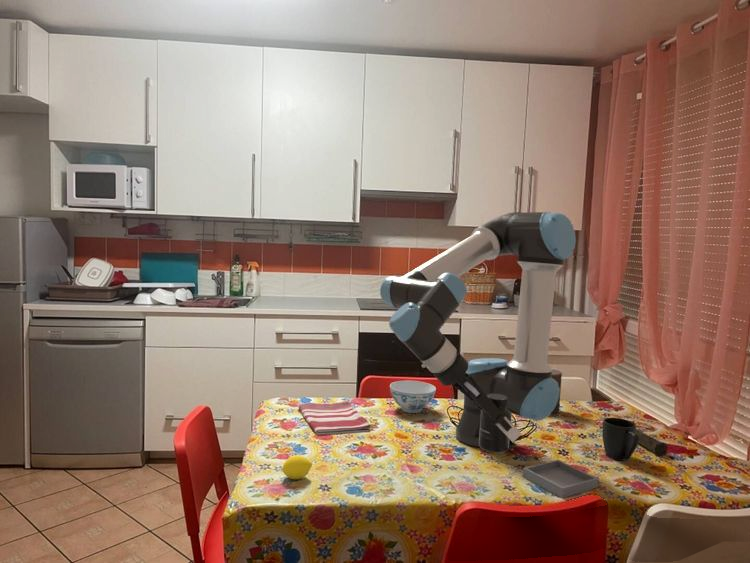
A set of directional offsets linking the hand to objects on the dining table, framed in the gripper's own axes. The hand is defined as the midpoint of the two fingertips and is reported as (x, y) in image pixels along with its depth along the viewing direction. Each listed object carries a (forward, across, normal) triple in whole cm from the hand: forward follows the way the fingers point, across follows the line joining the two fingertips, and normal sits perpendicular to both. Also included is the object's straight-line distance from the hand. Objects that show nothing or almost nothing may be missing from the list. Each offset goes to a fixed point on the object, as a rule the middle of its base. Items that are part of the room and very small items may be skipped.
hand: (509, 431), depth 130 cm
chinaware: (+5, -58, -15) cm, 60 cm away
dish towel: (-14, -50, -34) cm, 62 cm away
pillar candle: (+37, -56, +16) cm, 69 cm away
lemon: (-24, -10, -43) cm, 50 cm away
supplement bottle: (0, 0, -5) cm, 5 cm away
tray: (+20, -2, +1) cm, 20 cm away
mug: (+38, -14, +18) cm, 44 cm away
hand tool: (+47, -25, +26) cm, 59 cm away
